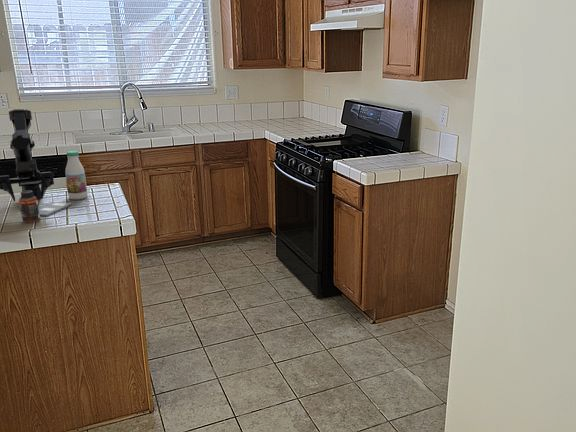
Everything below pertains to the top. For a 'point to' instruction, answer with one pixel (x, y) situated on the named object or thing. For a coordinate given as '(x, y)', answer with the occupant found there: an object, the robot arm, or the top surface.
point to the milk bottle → (75, 177)
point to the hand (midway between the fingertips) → (28, 199)
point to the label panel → (52, 208)
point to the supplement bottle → (29, 207)
